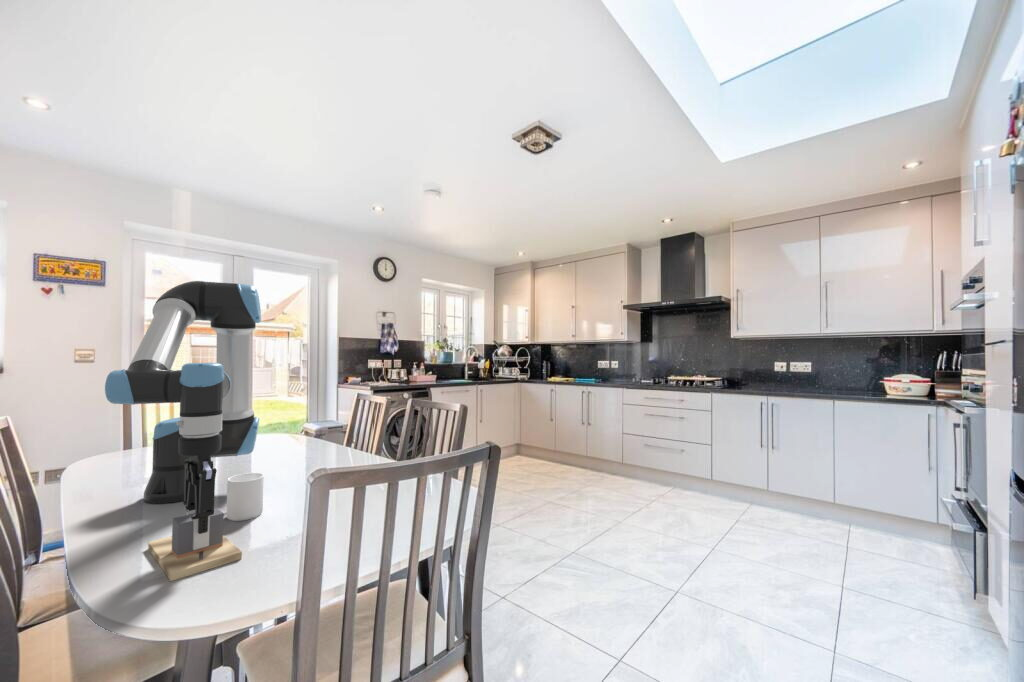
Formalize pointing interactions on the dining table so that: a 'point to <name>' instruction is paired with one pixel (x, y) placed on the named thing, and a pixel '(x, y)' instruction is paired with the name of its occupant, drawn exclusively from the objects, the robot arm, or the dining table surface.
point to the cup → (245, 496)
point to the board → (191, 558)
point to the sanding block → (184, 534)
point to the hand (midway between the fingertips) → (197, 543)
